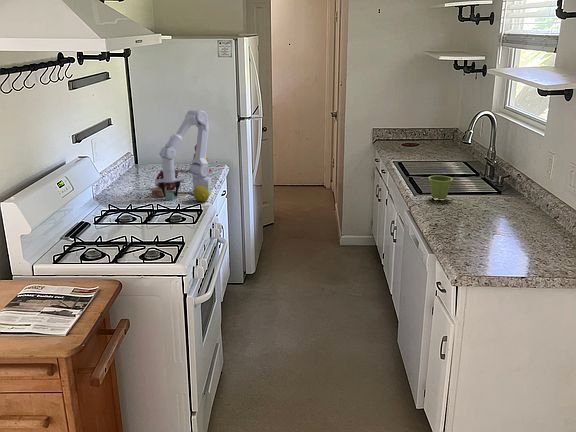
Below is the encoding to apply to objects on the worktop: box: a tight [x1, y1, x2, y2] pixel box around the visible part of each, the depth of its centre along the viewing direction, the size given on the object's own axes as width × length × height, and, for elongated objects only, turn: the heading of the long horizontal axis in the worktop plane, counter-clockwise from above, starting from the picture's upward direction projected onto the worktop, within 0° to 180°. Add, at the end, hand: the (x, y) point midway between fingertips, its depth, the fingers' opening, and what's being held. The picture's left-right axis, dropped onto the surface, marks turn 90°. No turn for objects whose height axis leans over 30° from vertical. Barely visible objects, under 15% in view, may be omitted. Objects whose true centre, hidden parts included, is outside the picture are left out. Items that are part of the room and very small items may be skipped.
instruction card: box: [176, 193, 191, 199], centre depth 298 cm, size 8×6×1 cm
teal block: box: [164, 190, 177, 201], centre depth 292 cm, size 4×4×4 cm
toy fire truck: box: [155, 169, 179, 191], centre depth 312 cm, size 7×12×10 cm, turn 91°
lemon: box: [193, 186, 210, 203], centre depth 287 cm, size 11×8×8 cm
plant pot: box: [428, 175, 453, 199], centre depth 289 cm, size 12×12×11 cm
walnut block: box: [151, 187, 168, 199], centre depth 298 cm, size 6×6×4 cm
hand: (170, 196), depth 292 cm, fingers closed on teal block, 5 cm apart
